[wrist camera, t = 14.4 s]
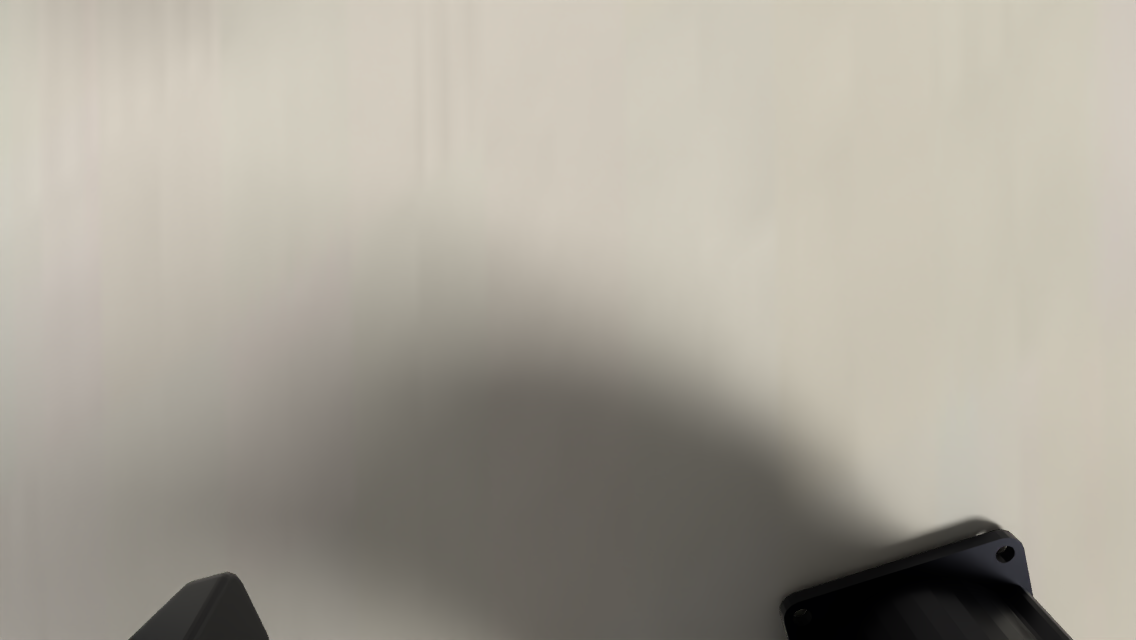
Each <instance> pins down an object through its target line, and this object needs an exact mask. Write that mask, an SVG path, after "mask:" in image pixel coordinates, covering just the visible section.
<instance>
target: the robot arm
mask: <svg viewBox="0 0 1136 640" xmlns="http://www.w3.org/2000/svg"><path fill="white" fill-rule="evenodd" d="M1003 546H1007V548H1006V549H1005V550H1004V552H1002V553H1000V554H996V553H997V551H998V550H999V549H1000V548H1001V547H1003ZM801 609H806V610H807V611H806V612H805V614H803V615H801V616H794V614H795V613H796V612H797V611H799V610H801ZM780 616H781V619H782V623H783V626H784V629H785V633H786V636H787V640H1073V639H1072V638H1071V637H1070V636H1069V635H1068V634H1067V633H1066V632H1065V631H1064V629H1063V628H1062V627H1061V626H1060V625H1059V624H1058V623H1057V622H1056V621H1055V620H1054V619H1053V618H1052V617H1051V615H1050V614H1049V613H1048V612H1047V611H1046V610H1045V609H1044V608H1043V607H1042V606H1041V605H1040V604H1039V603H1038V602H1037V600H1036V599H1035V598H1034V597H1033V594H1032V588H1031V583H1030V578H1029V572H1028V567H1027V562H1026V556H1025V551H1024V547H1023V545H1022V543H1021V542H1020V541H1019V540H1018V539H1017V538H1016V537H1015V536H1014V535H1013V534H1012V533H1010V532H1009V531H1006V530H1002V529H1001V530H994V531H991V532H988V533H984V534H981V535H978V536H975V537H972V538H968V539H965V540H962V541H959V542H956V543H952V544H949V545H946V546H943V547H940V548H936V549H933V550H930V551H927V552H924V553H920V554H917V555H914V556H911V557H908V558H904V559H901V560H898V561H895V562H892V563H888V564H885V565H882V566H879V567H876V568H872V569H869V570H866V571H863V572H860V573H856V574H853V575H850V576H847V577H844V578H840V579H837V580H834V581H831V582H828V583H824V584H821V585H818V586H815V587H812V588H808V589H805V590H802V591H799V592H796V593H793V594H791V595H789V596H787V597H786V598H785V599H784V600H783V601H782V603H781V605H780ZM129 640H269V637H268V635H267V632H266V630H265V628H264V626H263V624H262V622H261V620H260V618H259V616H258V614H257V612H256V610H255V608H254V606H253V604H252V602H251V600H250V598H249V596H248V593H247V591H246V589H245V587H244V585H243V583H242V582H241V580H240V579H239V578H238V577H237V576H236V575H235V574H233V573H230V572H224V573H220V574H217V575H213V576H209V577H206V578H202V579H198V580H194V581H192V582H190V583H188V584H186V585H185V586H184V587H183V588H182V589H181V590H180V591H179V592H178V593H177V594H176V595H175V596H173V597H172V598H171V599H170V600H169V601H168V602H167V603H166V604H165V605H164V606H163V607H162V608H161V609H160V610H159V611H158V612H157V613H156V614H155V615H154V616H153V617H152V618H151V619H150V620H149V621H147V622H146V623H145V624H144V625H143V626H142V627H141V628H140V629H139V630H138V631H137V632H136V633H135V634H134V635H133V636H132V637H131V638H130V639H129Z"/></svg>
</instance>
